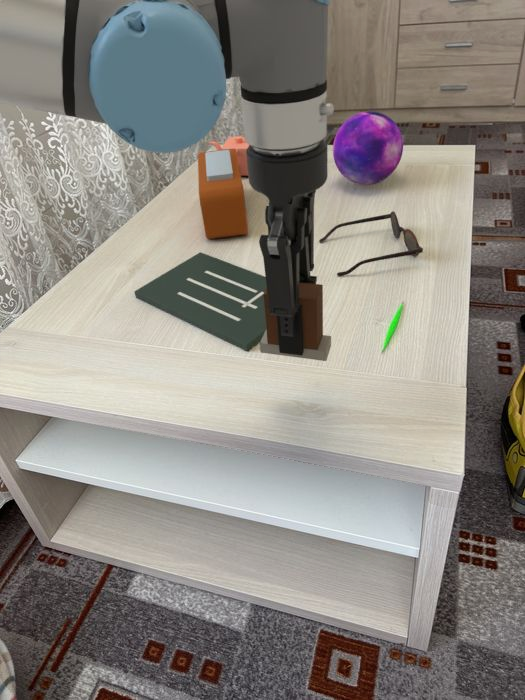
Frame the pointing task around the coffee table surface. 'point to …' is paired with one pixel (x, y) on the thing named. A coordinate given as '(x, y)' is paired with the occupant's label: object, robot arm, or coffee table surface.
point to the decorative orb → (368, 148)
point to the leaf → (392, 326)
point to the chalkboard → (212, 298)
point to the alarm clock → (221, 194)
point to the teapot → (240, 148)
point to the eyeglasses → (408, 235)
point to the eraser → (312, 325)
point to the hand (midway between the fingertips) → (295, 342)
